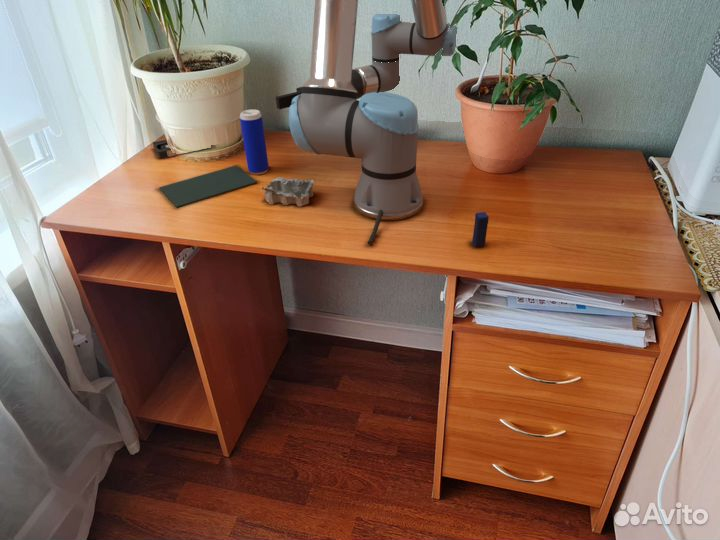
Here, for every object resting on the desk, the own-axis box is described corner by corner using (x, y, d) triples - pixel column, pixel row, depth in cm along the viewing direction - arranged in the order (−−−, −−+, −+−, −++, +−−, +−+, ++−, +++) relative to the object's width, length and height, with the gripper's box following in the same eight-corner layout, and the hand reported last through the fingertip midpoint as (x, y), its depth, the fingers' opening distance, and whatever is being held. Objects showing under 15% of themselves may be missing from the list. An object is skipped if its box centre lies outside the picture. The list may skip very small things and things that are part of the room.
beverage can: (272, 167, 134) (264, 109, 125) (264, 176, 130) (256, 116, 121) (253, 165, 135) (244, 108, 126) (245, 174, 131) (235, 115, 122)
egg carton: (261, 204, 118) (259, 187, 116) (274, 189, 124) (272, 173, 122) (306, 208, 116) (304, 191, 113) (317, 193, 122) (315, 176, 119)
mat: (236, 166, 135) (235, 165, 134) (257, 183, 127) (256, 181, 126) (159, 188, 125) (159, 187, 125) (176, 207, 117) (176, 206, 117)
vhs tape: (159, 159, 140) (157, 152, 139) (154, 149, 146) (152, 142, 145) (212, 148, 145) (210, 141, 144) (205, 139, 151) (203, 132, 150)
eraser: (482, 241, 103) (485, 210, 99) (485, 247, 101) (489, 216, 97) (471, 242, 103) (474, 211, 99) (474, 248, 101) (478, 217, 97)
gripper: (371, 104, 135) (292, 125, 125) (343, 92, 144) (267, 111, 133) (371, 74, 131) (289, 94, 120) (342, 63, 140) (263, 81, 129)
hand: (277, 103), depth 127 cm, fingers closed
